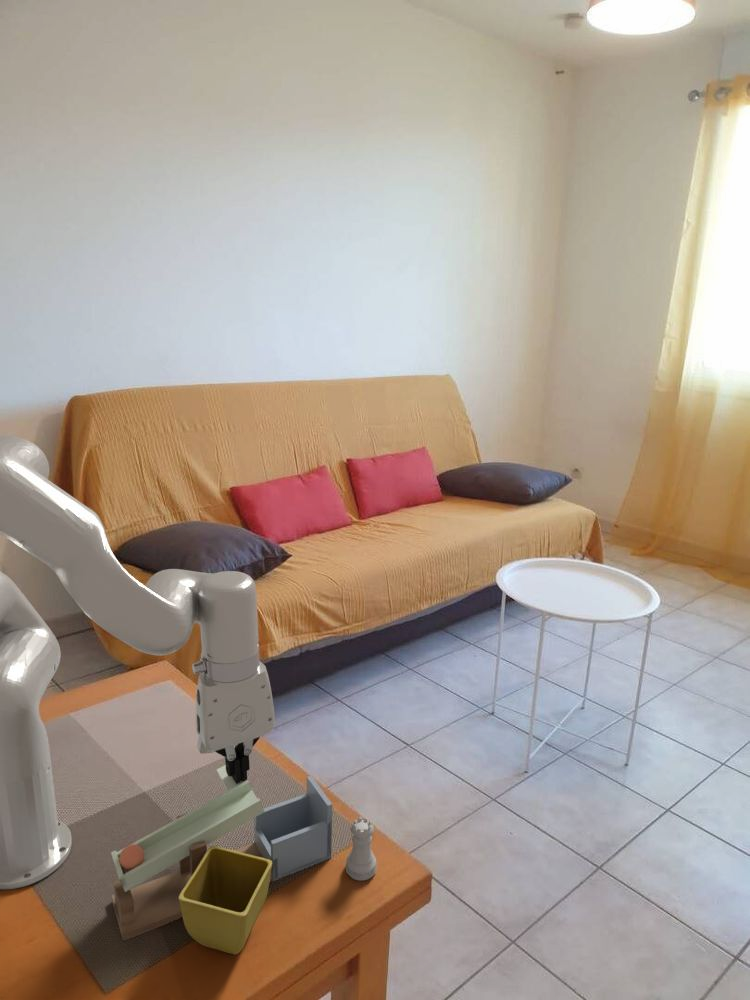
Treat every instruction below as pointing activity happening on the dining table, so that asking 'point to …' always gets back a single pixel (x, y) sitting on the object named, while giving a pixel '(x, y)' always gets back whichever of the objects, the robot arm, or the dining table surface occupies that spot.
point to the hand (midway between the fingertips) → (238, 776)
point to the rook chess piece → (361, 851)
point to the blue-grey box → (296, 831)
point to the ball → (131, 857)
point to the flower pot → (225, 898)
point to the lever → (192, 830)
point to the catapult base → (160, 895)
